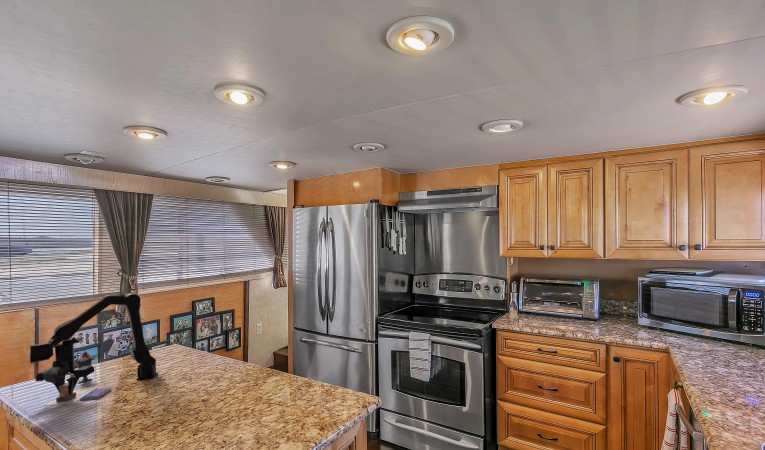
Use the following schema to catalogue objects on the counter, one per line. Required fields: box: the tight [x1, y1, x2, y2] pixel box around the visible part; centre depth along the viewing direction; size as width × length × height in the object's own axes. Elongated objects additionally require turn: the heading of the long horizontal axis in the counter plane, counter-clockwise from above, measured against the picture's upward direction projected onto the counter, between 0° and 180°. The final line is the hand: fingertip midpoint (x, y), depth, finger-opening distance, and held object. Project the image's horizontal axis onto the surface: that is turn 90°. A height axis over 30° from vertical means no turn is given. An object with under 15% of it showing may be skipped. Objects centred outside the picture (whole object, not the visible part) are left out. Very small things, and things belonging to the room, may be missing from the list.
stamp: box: [56, 382, 76, 402], centre depth 148 cm, size 4×4×6 cm
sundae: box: [74, 349, 95, 384], centre depth 167 cm, size 7×7×15 cm
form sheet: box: [44, 385, 100, 407], centre depth 152 cm, size 10×16×1 cm, turn 6°
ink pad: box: [79, 387, 112, 401], centre depth 151 cm, size 7×8×1 cm
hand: (66, 394), depth 148 cm, fingers closed on stamp, 3 cm apart
